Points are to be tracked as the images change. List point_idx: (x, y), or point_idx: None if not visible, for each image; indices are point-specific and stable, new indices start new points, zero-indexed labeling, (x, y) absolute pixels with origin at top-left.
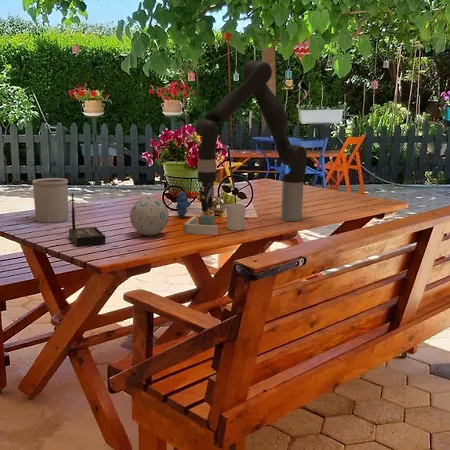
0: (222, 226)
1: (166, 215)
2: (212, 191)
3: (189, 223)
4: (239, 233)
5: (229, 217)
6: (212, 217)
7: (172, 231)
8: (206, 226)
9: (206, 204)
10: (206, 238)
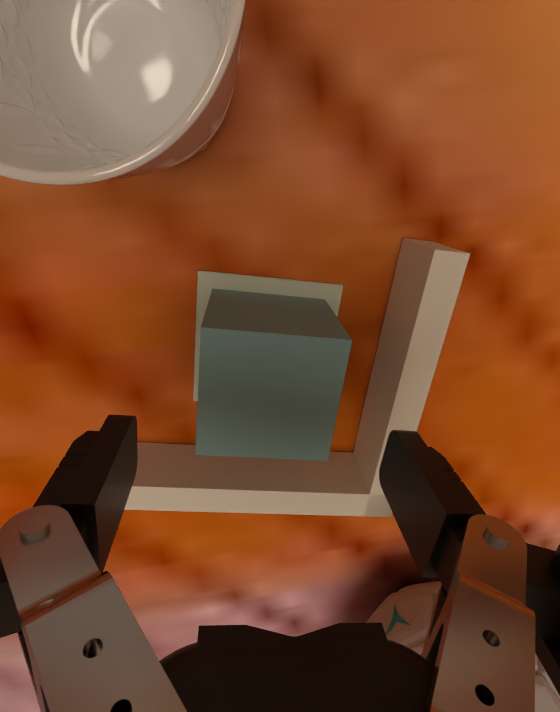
0: (80, 227)
1: None
2: (123, 668)
3: (316, 487)
4: (357, 8)
5: (211, 126)
6: (307, 339)
7: (331, 531)
8: (438, 351)
9: (453, 498)
10: (531, 309)
